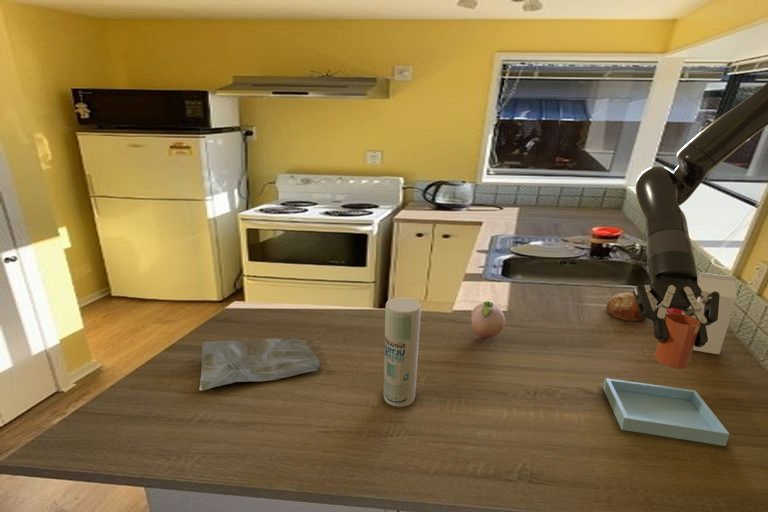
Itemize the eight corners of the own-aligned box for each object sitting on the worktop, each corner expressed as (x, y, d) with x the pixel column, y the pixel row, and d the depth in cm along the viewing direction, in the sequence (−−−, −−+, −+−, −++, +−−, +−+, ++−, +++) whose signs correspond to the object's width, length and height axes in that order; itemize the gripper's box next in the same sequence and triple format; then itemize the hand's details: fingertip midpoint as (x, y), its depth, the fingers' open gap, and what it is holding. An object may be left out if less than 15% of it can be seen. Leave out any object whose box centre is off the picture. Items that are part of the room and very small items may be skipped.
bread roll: (619, 316, 129) (612, 291, 130) (656, 314, 121) (648, 287, 121) (604, 325, 123) (597, 299, 123) (642, 324, 115) (634, 295, 115)
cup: (680, 355, 80) (691, 314, 77) (693, 371, 75) (706, 328, 72) (650, 351, 81) (660, 311, 78) (660, 366, 76) (672, 324, 73)
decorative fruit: (504, 348, 102) (509, 311, 99) (470, 345, 104) (473, 308, 100) (500, 330, 111) (504, 295, 108) (468, 327, 112) (472, 292, 109)
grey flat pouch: (309, 341, 105) (310, 333, 105) (322, 378, 91) (323, 369, 91) (203, 350, 97) (203, 341, 96) (199, 393, 83) (198, 383, 82)
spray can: (421, 394, 85) (427, 303, 78) (404, 412, 80) (409, 315, 73) (394, 383, 88) (397, 294, 82) (376, 399, 83) (378, 305, 77)
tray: (692, 401, 85) (695, 390, 84) (725, 446, 73) (730, 434, 72) (602, 388, 88) (605, 377, 87) (621, 429, 76) (624, 417, 76)
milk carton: (719, 355, 102) (742, 281, 96) (685, 349, 104) (705, 277, 98) (708, 341, 109) (729, 271, 103) (676, 336, 111) (695, 268, 105)
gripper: (637, 245, 80) (645, 332, 73) (723, 252, 77) (741, 343, 70) (622, 263, 87) (629, 344, 79) (701, 270, 84) (715, 354, 76)
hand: (681, 343), depth 75 cm, fingers closed on cup, 5 cm apart
